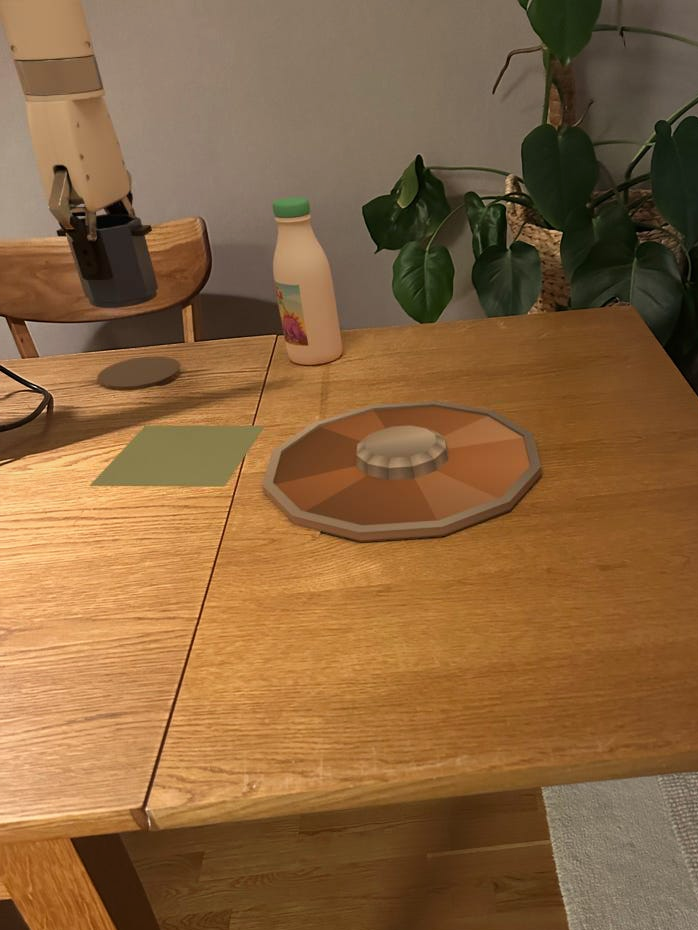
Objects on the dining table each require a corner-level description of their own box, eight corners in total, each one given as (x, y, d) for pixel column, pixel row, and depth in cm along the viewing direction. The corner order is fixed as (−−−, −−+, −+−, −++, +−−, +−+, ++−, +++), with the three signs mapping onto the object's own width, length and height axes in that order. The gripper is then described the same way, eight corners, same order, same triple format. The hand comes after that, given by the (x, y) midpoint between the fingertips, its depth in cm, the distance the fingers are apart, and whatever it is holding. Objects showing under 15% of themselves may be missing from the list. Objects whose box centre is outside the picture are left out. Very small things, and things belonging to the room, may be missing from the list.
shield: (316, 380, 102) (560, 390, 97) (320, 405, 104) (559, 416, 99) (206, 503, 80) (517, 525, 74) (215, 532, 82) (517, 555, 76)
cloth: (90, 487, 90) (89, 485, 90) (145, 428, 102) (144, 425, 101) (225, 488, 89) (224, 486, 88) (265, 427, 100) (264, 425, 100)
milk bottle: (337, 343, 122) (315, 191, 110) (348, 361, 116) (325, 202, 104) (284, 351, 120) (255, 197, 108) (292, 369, 115) (263, 209, 102)
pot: (67, 308, 93) (42, 230, 88) (97, 288, 99) (75, 214, 94) (151, 308, 92) (130, 229, 87) (177, 288, 98) (158, 213, 93)
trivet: (84, 392, 111) (82, 386, 111) (119, 362, 120) (117, 356, 119) (164, 392, 110) (162, 386, 110) (193, 361, 119) (191, 356, 118)
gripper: (68, 72, 90) (117, 248, 101) (-25, 91, 76) (44, 292, 87) (134, 70, 89) (176, 248, 100) (52, 89, 76) (112, 292, 87)
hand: (114, 267), depth 94 cm, fingers closed on pot, 7 cm apart
